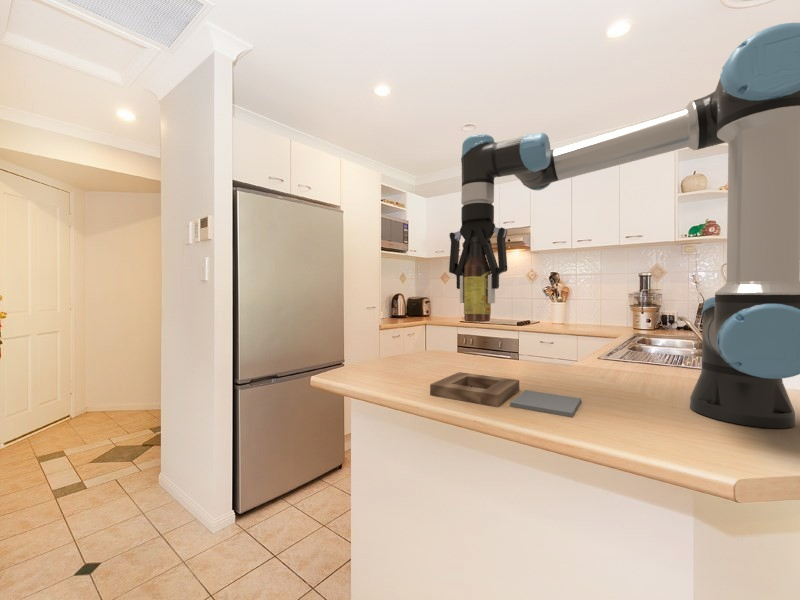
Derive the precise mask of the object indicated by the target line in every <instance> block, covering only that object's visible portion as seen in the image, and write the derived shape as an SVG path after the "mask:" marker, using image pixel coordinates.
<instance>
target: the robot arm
mask: <svg viewBox="0 0 800 600" xmlns="http://www.w3.org/2000/svg"><path fill="white" fill-rule="evenodd" d="M722 144H728V146H727V147H728V149H727V150H728V152H727V153H728V154H727V155H728V156H727V157H728V158H727V161H728V162H727V216H726V217H727V218H726V219H727V221H726V222H727V223H726V225H727V226H726V227H727V229H726V230H727V231H726V283H725V284H724V285H723V286H722V287H720V288H719V289H718V290H716V291H715V292H714V296H713V297H710V298H707V299H706V300H704V302H703V306H702V307H703V308H702V310H701V316H702V334H701V335H702V337H701V338H702V339H701V340H702V342H701V347H702V348H701V372H700V375H699V377H698V379H697V380H696V383H695V385H694V387H693V390H692V392H691V395H690V397H689V408H690V409H691V410H692V411H693V412H695V413H697V414H700V415H702V416H705V417H708V418H712V419H715V420H719V421H723V422H727V423H732V424H737V425H741V426H743V425H744V426H748V425H749V426H748V427H755V426H756V428H764V429H766V428H767V429H788V428H792V427H795V426H796V411H795V408H794V406H793V403H792V402H791V400H790V397H789V394H788V392H787V390H786V387H785V384H784V382H783V379H787V378H789V379H790V378H793V377H796V376H799V375H800V22H784V23H779V24H776V25H772V26H769V27H766V28H764V29H762V30H759V31H757V32H756V33H754V34H752V35H750V36H749V37H748V38H747V39H744V40H743V41H742V42H741V43H740V44H739V45H738V46H737V47H736V48H735V49H734V50H733V51H732V53H731V54H730V56H729V57H728V59H727V60H726V61H725V62H724V65H723V66H722V67H721V71H720V77H719V80H718V82H717V85H716V87H715V90H714V91H713V92H711V93H709V94H707V95H705V96H703V97H700V98H697V99H694V100H692V101H689V103H687V105H686V106H685V107H683V109H679V110H675V111H672V112H669V113H667V114H666V113H665V114H663V115H660V116H657V117H653V118H650V119H647V120H644V121H640V122H638V123H637V122H636V123H635V124H631V125H628V126H625V127H621V128H619V129H614V130H612V131H608V132H606V133H602V134H599V135H595V136H591V137H589V138H585V139H583V140H579V141H576V142H573V143H570V144H566V145H563V146H560V147H556V148H553V149H551V142H550V138H549V135H548V134H546V133H544V132H540V133H532V134H531V133H529V134H526V135H524V136H523V135H522V136H519V137H515V138H511V139H507V140H502V141H498V142H495V138H494V137H493V136H492V135H489V134H485V133H484V134H483V133H482V134H474V135H470V136H468V137H467V138H465V139H464V140H463V142H462V145H461V147H462V148H461V158H460V160H461V161H460V162H461V199H460V200H461V205H462V206H461V213H460V214H461V219H460V220H461V226H460V229H459V230H458V231H455V232H452V231H451V232H450V233H449V239H450V240H449V241H450V251H449V264H448V265H449V267H448V272H449V273H450V274H454V276H455V277H456V290H459V303H460V304H464V273H465V272H464V268H465V264H466V262H467V261H468V259H469V247H470V245H469V243H470V239H471V237H479V238H480V241H481V243H480V244H482V247H483V248H484V252H485V256H486V259H487V262H488V265H489V268H490V270H491V275H488V303H491V304H496V290H498V289H499V287H500V275H501V274H502V273H505V272H507V271H508V260H507V259H508V258H507V246H506V243H507V241H506V238H507V234H508V229H506V228H505V227H496V224H495V222H494V221H495V206H494V205H493V204H494V202H495V178H500V177H502V178H503V177H507V176H508V177H509V176H514V177H516V178H517V179H518V180H519V181H520V182H521V183H522V185H523V186H525V187H526V188H528V189H530V190H533V191H542V190H544V189H546V188H548V187H549V186H550V185H551V184H552V183H555V182H558V181H563V180H567V179H570V178H575V177H577V176H582V175H585V174H590V173H594V172H597V171H600V170H605V169H608V168H612V167H616V166H620V165H625V164H628V163H632V162H637V161H639V160H643V159H644V160H645V159H647V158H651V157H656V156H658V155H662V154H667V153H670V152H674V151H678V150H681V149H686V148H688V149H691V150H693V151H698V150H701V149H705V148H708V147H714V146H718V145H722ZM494 234H495V237H496V245H497V246H496V248H497V259H496V256H495V253H494V250H493V245H492V241H491V238H492V237H493V236H494ZM461 237H462V238H463V239H464V241H463V244H462V247H463V248H462V251H461V255H460V247H461V246H460V245H461V244H460V241H461V239H462V238H461ZM459 257H460V258H459ZM497 261H498V262H497Z"/></svg>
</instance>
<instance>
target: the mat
mask: <svg viewBox="0 0 800 600" xmlns="http://www.w3.org/2000/svg"><path fill="white" fill-rule="evenodd" d="M581 404H582V398H580V397H576V396H569V395H568V396H567V395H562V394H554V393H548V392H541V391H534V390H527V389H525V390H523V391H522V392H521V393H520V394H518V395H517V396H516V397H515V398H514V399H513V400H511V401H510V403H509V407H511V408H516V409H518V408H519V409H524V410H528V411H529V410H530V411H534V412H541V413H546V414H553V415H558V416H564V417H570V418H573V417H574V416H575V414H576V411H577V410H578V408H580V405H581Z"/></svg>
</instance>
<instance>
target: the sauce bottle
mask: <svg viewBox="0 0 800 600" xmlns="http://www.w3.org/2000/svg"><path fill="white" fill-rule="evenodd" d="M480 243H481V241H480V238H479V237H471V239H470V243H469V245H470V247H469V259H468V261H467V262H466V264H465V268H464V272H465V273H464V303H463V315H464V321H465V322H470V323H478V322H479V323H483V322H489V321H490V320H491V315H492V312H491V311H492V310H491V309H492V307H491V305H492V303H488V275H492V274H491V270H490V267H489V264H488V261H487V258H486V255H485V252H484V248H483V247H482V244H480Z"/></svg>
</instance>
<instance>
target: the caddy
mask: <svg viewBox="0 0 800 600" xmlns="http://www.w3.org/2000/svg"><path fill="white" fill-rule="evenodd" d="M471 386H472V387H471ZM519 391H520V379H513V378H506V377H498V376H491V375H484V374H476V373H469V372H461V371H460V372H459V371H458V372H455V373H454V374H451V375H449V376H446V377H444V378H441V379H439V380H436V381H435V382H432V383H430V385H429V395H430V396H434V397H439V398H445V399H451V400H457V401H462V402H467V403H472V404H478V405H485V406H489V407H495V408H498V407H499V406H501V405H502V404H503V403H505V402H506V401H507V400H509V399H510V398H511V397H513V396H514V395H515V394H516V393H518V392H519Z"/></svg>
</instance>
